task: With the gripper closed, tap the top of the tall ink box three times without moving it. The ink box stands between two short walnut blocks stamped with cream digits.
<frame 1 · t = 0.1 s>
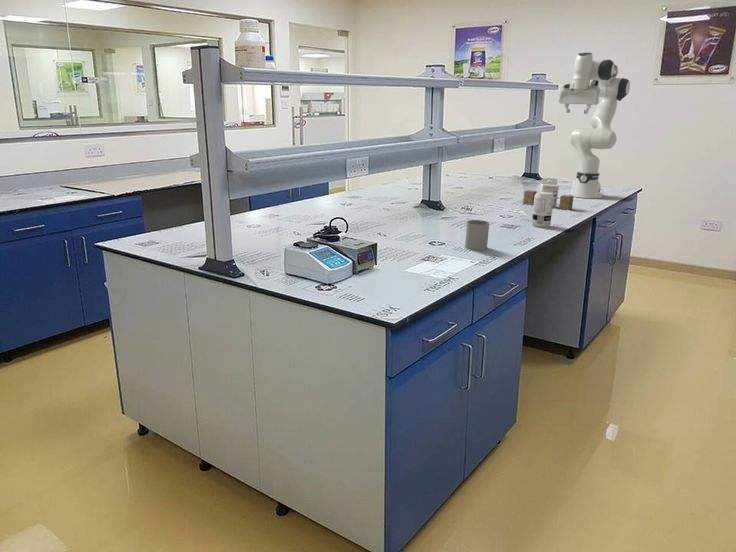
hand: (576, 113, 301), 48 cm above the table, fingers open, 8 cm apart
supplement can: (540, 226, 259), on the table
digit block one: (565, 209, 299), on the table
ink box: (547, 206, 305), on the table
digit block seven: (529, 204, 311), on the table
cup: (475, 248, 219), on the table
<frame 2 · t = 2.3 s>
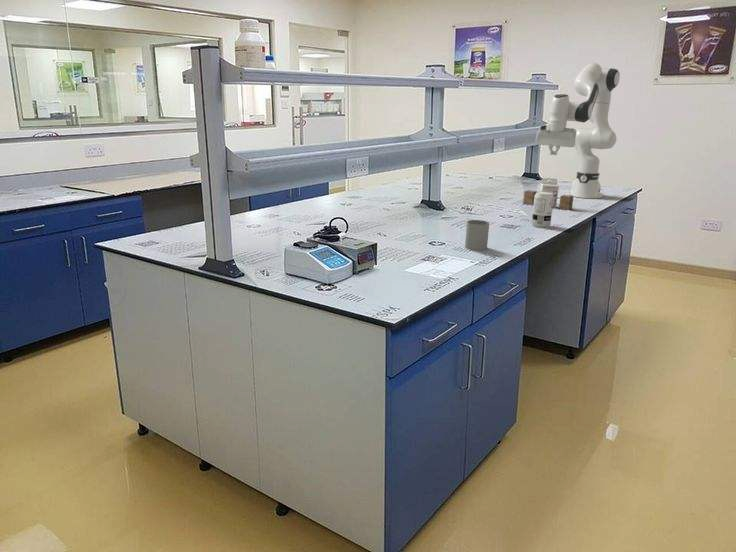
hand: (553, 154, 296), 27 cm above the table, fingers closed
nothing on the table moved.
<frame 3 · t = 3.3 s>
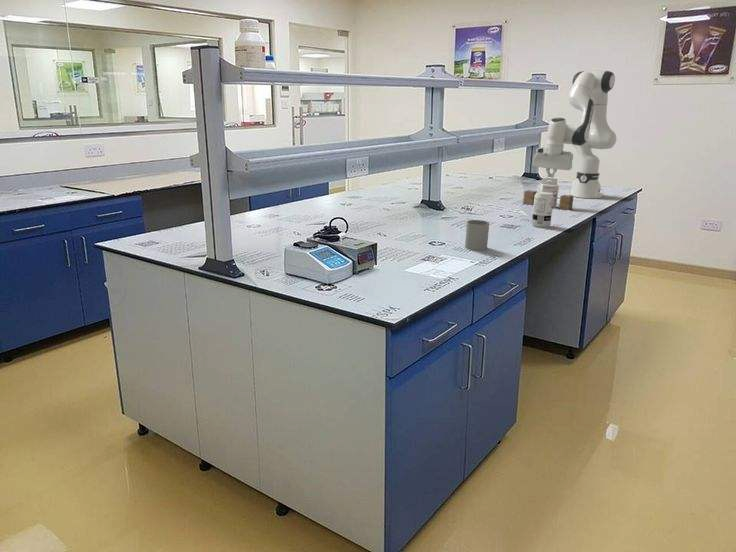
hand: (550, 177, 300), 16 cm above the table, fingers closed
nothing on the table moved.
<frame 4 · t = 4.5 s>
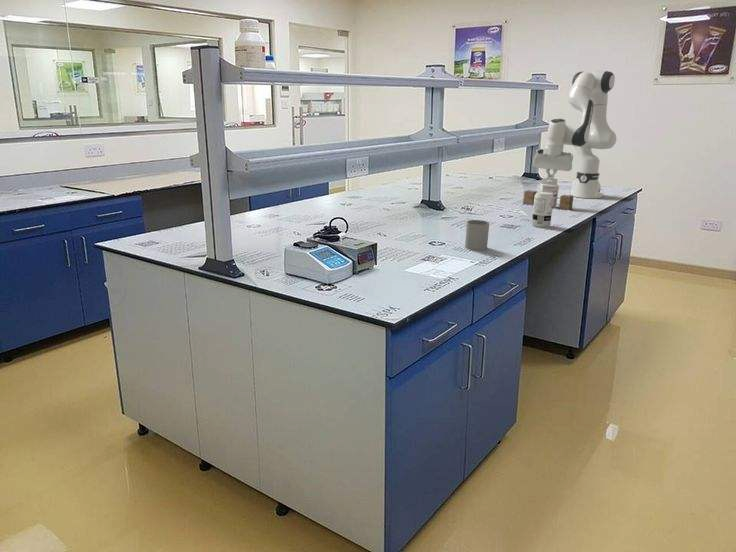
hand: (550, 178, 300), 15 cm above the table, fingers closed
nothing on the table moved.
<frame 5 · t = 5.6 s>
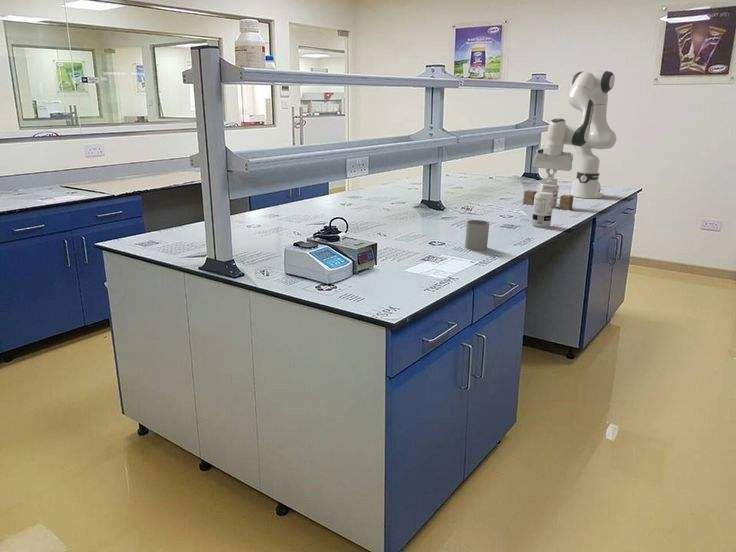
hand: (550, 177, 300), 15 cm above the table, fingers closed
nothing on the table moved.
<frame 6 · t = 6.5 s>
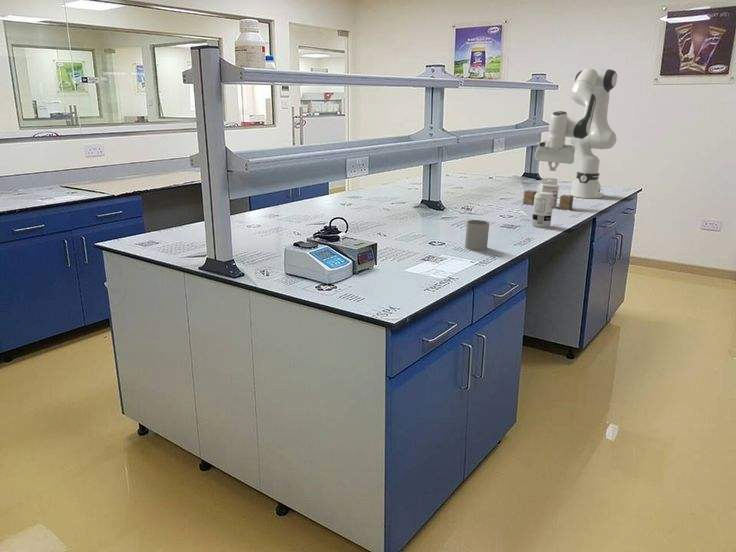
hand: (552, 170, 300), 19 cm above the table, fingers closed
nothing on the table moved.
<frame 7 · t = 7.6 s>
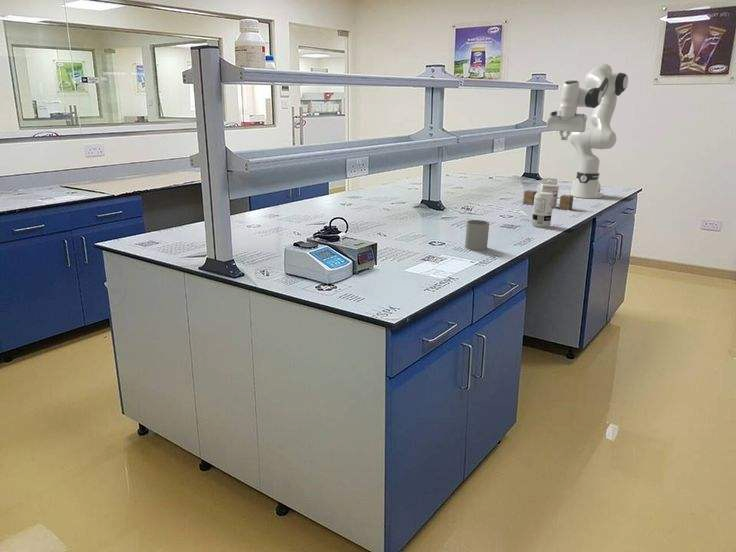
hand: (564, 140, 303), 34 cm above the table, fingers closed
nothing on the table moved.
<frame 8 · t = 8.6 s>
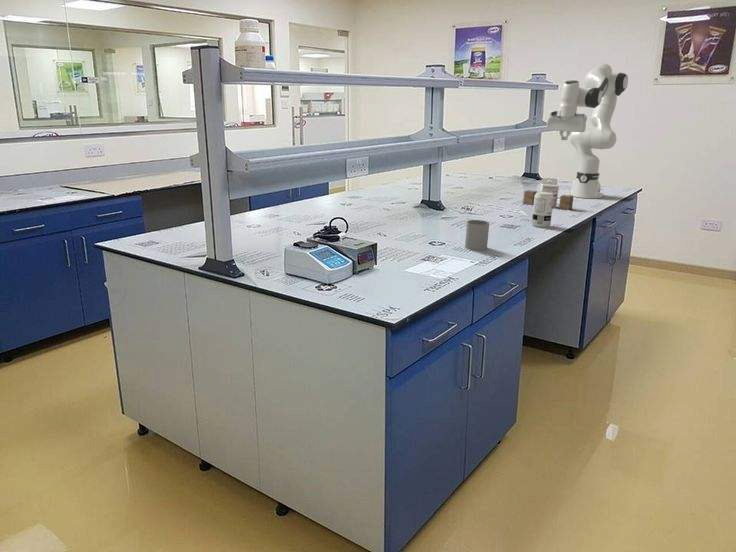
hand: (564, 140, 303), 34 cm above the table, fingers closed
nothing on the table moved.
at the end: ink box moved 0.2 cm from its start; ink box tilted 0°; digit block one moved 0.1 cm from its start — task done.
